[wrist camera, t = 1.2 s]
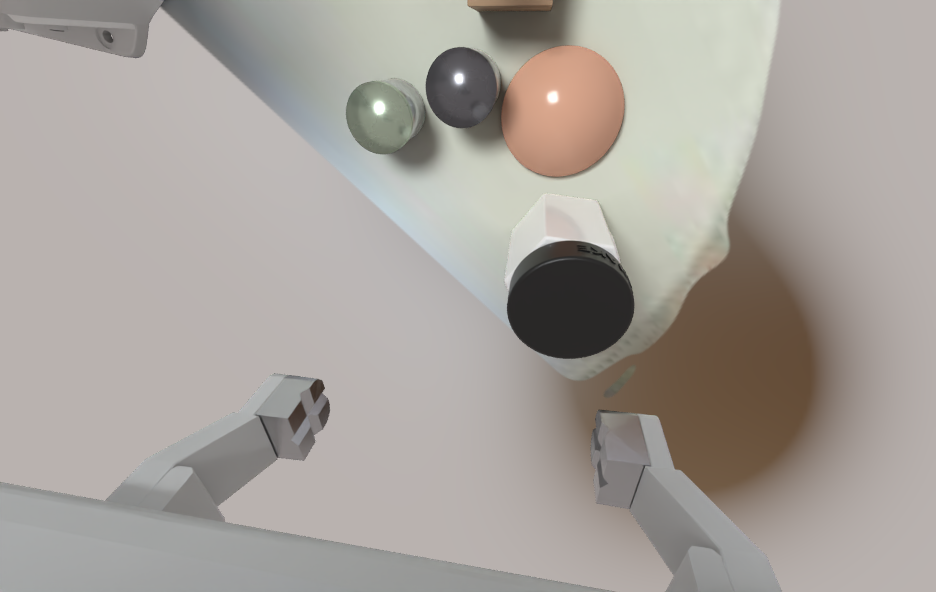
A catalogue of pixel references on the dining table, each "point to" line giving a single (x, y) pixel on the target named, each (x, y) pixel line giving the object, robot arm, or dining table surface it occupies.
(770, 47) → the dining table surface
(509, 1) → the walnut block
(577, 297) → the jar
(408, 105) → the tin
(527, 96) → the pink glossy round part
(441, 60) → the tin
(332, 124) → the dining table surface
